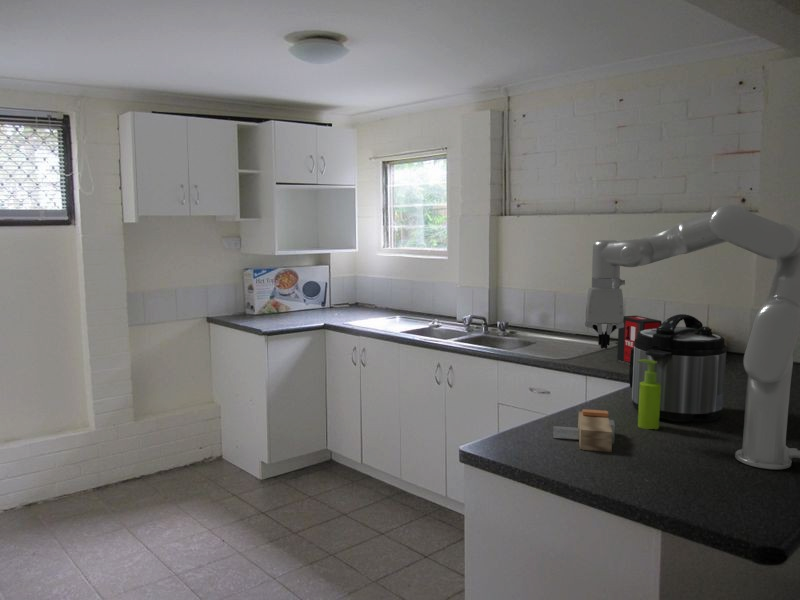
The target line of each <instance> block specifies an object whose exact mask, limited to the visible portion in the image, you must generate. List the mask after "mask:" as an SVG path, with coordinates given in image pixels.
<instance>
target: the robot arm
mask: <svg viewBox="0 0 800 600" xmlns="http://www.w3.org/2000/svg"><path fill="white" fill-rule="evenodd" d="M727 242H728V243H729V244H732V245H734V246H737V247H738V248H742V249H744V250H746V251H749V252H751V253H752V254H755V255H758V256H759V257H763V258H764V259H768V260H772V261H773V260H774V261H775V262H776V269H775V273H774V275H773V278H772V283H771V286H770V290H769V293H768V296H767V299H766V301H765V303H763V305H762V306H761V307H760V308H759V309H758V310H757V313H756V315H755V318H754V321H753V324H752V328H751V332H750V335H749V338H748V342H747V345H746V348H745V351H744V355H743V358H742V359H743V362H742V363H743V368H744V370H745V372H746V374H747V380H746V393H745V405H744V416H743V417H744V421H743V436H742V447H741V449H738V450H737V451H735V453H734V457H735V459H736V460H737V461H739V462H741V463H743V464H744V465H747V466H751V467H755V468H759V469H766V470H785V469H788V468H790V467H792V459H794V458H795V459H800V450H798V448H794V447H791V448H790V447H788V446H787V445H786V442H787V433H788V432H787V430H788V417H789V404H790V393H791V382H792V374H793V367H794V366H793V365H794V359H793V358H794V357H793V353H794V350H795V346H796V343H797V340H798V338H799V337H798V336H799V333H800V230H799V229H798V228H796V227H794V226H792V225H790V224H786V223H779V222H776V221H775V220H771V219H769V218H766V217H763V216H761V215H758V214H756V213H753V212H752V211H749V210H748V209H746V207H743V206H741V205H739V204H738V205H737V204H726V205H722V206H720V207H718V208H716V209H715V210H713V211H710V212H708V213H704V214H702V215H698V216H696V217H691V218H688V219H685V220H682V221H680V222H678V223H676V224H674V226H672V227H671V228H668V229H667V230H664V231H662V232H659V233H658V232H657V233H656V234H653V235H650V236H646V237H642V238H639V239H638V238H636V239H635V238H634V239H628V240H620V241H619V240H613V239H609V240H608V239H606V240H605V239H604V240H603V239H600V240H596V241H594V243H592V261H591V262H592V264H591V267H592V268H591V287H589V288H588V290H587V296H586V305H585V306H586V307H585V323H584V326H585V328H590V329H594V331H595V332H597V334H598V338H597V341H598V342H597V344H598V345H597V346H600V349H605V350H606V349H608V346H610V345H611V344H610V343H611V342H610V341H611V340H610V339H611V338H610V337H611V335H612V333H613V332H614V331H616V330H618V329H619V328H623V327H624V322H623V319H624V316H625V312H624V311H625V309H624V297H623V295H624V294H623V289H622V288H620V287H622V286H624V285H626V281H625V279H621V278H620V277H621V276H620V275H621V267H625V268H637V267H643V266H646V265H651V264H653V263H656V262H660V261H663V260H666V259H670V258H673V257H677V256H679V255H680V256H681V255H687V254H690V253H693V252H697V251H700V250H704V249H707V248H710V247H713V246H717V245H721V244H723V243H727ZM603 325H606V329H605V331H603Z"/></svg>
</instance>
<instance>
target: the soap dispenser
mask: <svg viewBox="0 0 800 600" xmlns="http://www.w3.org/2000/svg"><path fill="white" fill-rule="evenodd" d="M637 362H645V363H648V370H647V371H645V378H644V382H640V389H639V409H638V411H637V412H638V413H637V427H639V428H640V429H644V430H648V429H655V430H658V429H659V428H660V418H659V414H660V394H661V384H660V383H657V372H655V371H654V364H657V361H653V360H647V359H643V360H638V361H637Z"/></svg>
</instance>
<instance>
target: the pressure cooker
mask: <svg viewBox="0 0 800 600" xmlns="http://www.w3.org/2000/svg"><path fill="white" fill-rule="evenodd" d="M681 321H683V323H684V325H685V327H684V326H681V327H680V326H678V324H679V323H680V322H681ZM643 359H647V360H653V361H657V364H654V371H655V372H657V383H660V384H661V394H660V414H659V419H664V420H669V421H674V422H681V423H689V422H692V421H694V422H695V421H696V422H711V421H715V420H717V419H718V418H720V417H721V413H722V411H723V409H724V399H725V398H724V397H725V396H724V395H725V379H726V362H727V346H726V345H725V337H724V336H723V335H719V334H714V333H713V331H712V328H710V327H709V326H704V325H703V322H701V321H700V320H699V319H698V318H696V317H694V316H693V315H691V314H690V315H689V314H685V313H684V314H683V313H682V314H675V315H672V316H670V317H669V318H667V319H665V320H664V321H663V322H662V324H661V325H660V326H659V327H658V328H657V329H648V330H641V331H638V332H637V339H635V342H634V348H632V349H631V353H630V365H628V366H629V367H628V369H629V370H628V383H629V388H632V389H631V403H632V405H633V407H634V409H635V410H636V412H638V409H639V389H640V382H644V378H645V371H647V370H648V363H645V362H637V361H638V360H643Z"/></svg>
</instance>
